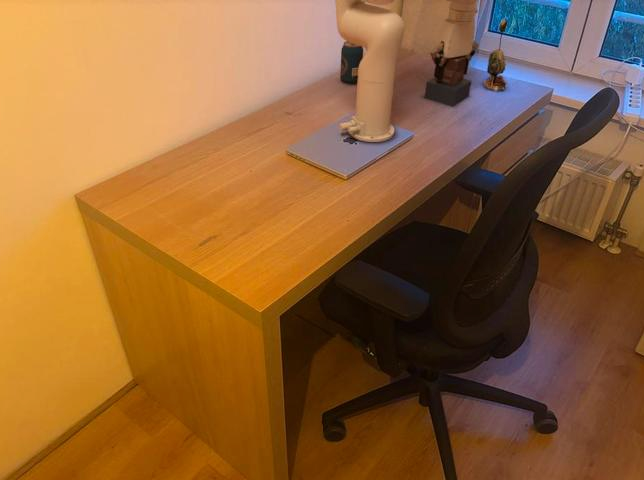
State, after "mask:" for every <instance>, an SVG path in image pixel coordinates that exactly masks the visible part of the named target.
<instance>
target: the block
mask: <svg viewBox="0 0 644 480" xmlns="http://www.w3.org/2000/svg"><path fill="white" fill-rule="evenodd" d="M436 80H437V78H436V77H434V76H433V78H431V79H429V80H427V81H426V84H425V91H424V99H428V100H431V101H433V102H434V101H436V102H439V103H441V104H444V105H446V106H451V107H455V106H456V105H457V104H460V103H461V102H462V101H464V100H465V99H467V98H469V96H470V91H471V87H472V80H471V79H467V78H464V77H463V80H462V81H461V82H459V83H457V84H455V85H453V86H452V85H449V84H445V83H442V82H439V81H436Z"/></svg>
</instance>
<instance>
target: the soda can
mask: <svg viewBox="0 0 644 480" xmlns="http://www.w3.org/2000/svg"><path fill="white" fill-rule="evenodd" d="M340 50H341V51H340V54H341V56H340V72H339V73H340V74H339V79H340V80H341V82H342V83H343V84H344V85H348V86H354V85H357V83H358V68H359V64H360V62H361V60H362V59H363V57H364V47H362V46H359V45H356V44H353V43H351V42H348V41H346V40H345V42H343V45H342V46H341V49H340Z"/></svg>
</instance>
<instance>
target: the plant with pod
mask: <svg viewBox="0 0 644 480" xmlns="http://www.w3.org/2000/svg"><path fill="white" fill-rule="evenodd" d="M507 25H508V18H503V19H502V21H501V22H500V23H499V25H498V30H499V32H500V37H499V38H500V39H499V48H497V49H494V50H492V51H491V50H489V51H491V52H490V54H489V57H488V63H487V69H486V72H487V74H489V76H490V77H488V78H487V79H485V80H484V81H482V83H483V85H484V87H485V88H486V89H488V90H491V91H498V92H499V91H504V90H505V89H506V88H507V87H508V83H507V81H505V80H504V76H503V75H502V74H504V72H505V71H506V65H507V63H506V56H505V54H504V51H503V50H501V45H502V36H503V33H504V32H505V31H506V28H507Z"/></svg>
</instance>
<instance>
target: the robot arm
mask: <svg viewBox="0 0 644 480" xmlns="http://www.w3.org/2000/svg"><path fill="white" fill-rule="evenodd" d="M334 1H335V16H336V17H335V18H336V27H337V32H338V34H339V36H340V37H341V39H343V40H344V41H345V42H346V41H348V42H351V43H353V44H356V45H359V46H362V47H363V49H364V48H365V49H366V53H365V55H363V59H362V60H361V62H360V64H359V68H358V83H357V84H356V97H355V98H356V99H355V100H356V101H355V111H354V112H355V114H354V115H351V119H350V120H348V121H346V122H342V123H341V122H340V123H339V124H338V129H339V131H340V132H342V131H347V133H348V134H349V135H350V136H351V137H353V139H356V140H358V141H361V142H366V143H382V142H385V141H388V140H391V139H392V138H393V137H394V136H395V127H394V126H393V124H391V116H392V115H391V114H392V107H393V97H394V88H395V81H396V80H395V79H396V72H397V63H398V56H399V53H400V49H401V45H402V43H403V39H404V35H405V22H404V20H403V18H402V17H401V16H400V15H399V14H398V13H397V12H395V11H393V10H391V9H387V8H384V7H381V6H388V5H390V4H392V3H393V2H394V1H395V0H334ZM447 1H449V4H448V9H447V10H448V11H447V17H446V19H445V18H444V20H443V23H442V26H441V28H440V32H439V36H438V39H437V45H436V46H435V47H434V48H433V49H432V50H430V52H429V53H430V56H431V60H432V61H433V63H434V64H435V67H434V73H433V78H434V77H436V78H437V79H439V80H441V79H442V77H443V71H444V66H443V64H444V63H445V61H446V60H447V58H454V57H460V56H466V57H467V60H466V65H465V70H464V76H466V75H468V68H469V63H470V62H471V61H472V58H473V57H474V55H475V54H476V51H478V48H479V46H480V43H478V42H477V41H475V40H474V39H475V33H476V19H475V18H476V17H475V16H476V14H477V13H478V8H477V6H478V2H479V0H447ZM442 57H443V58H442ZM441 58H442V60H441V61H440V59H441Z"/></svg>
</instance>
